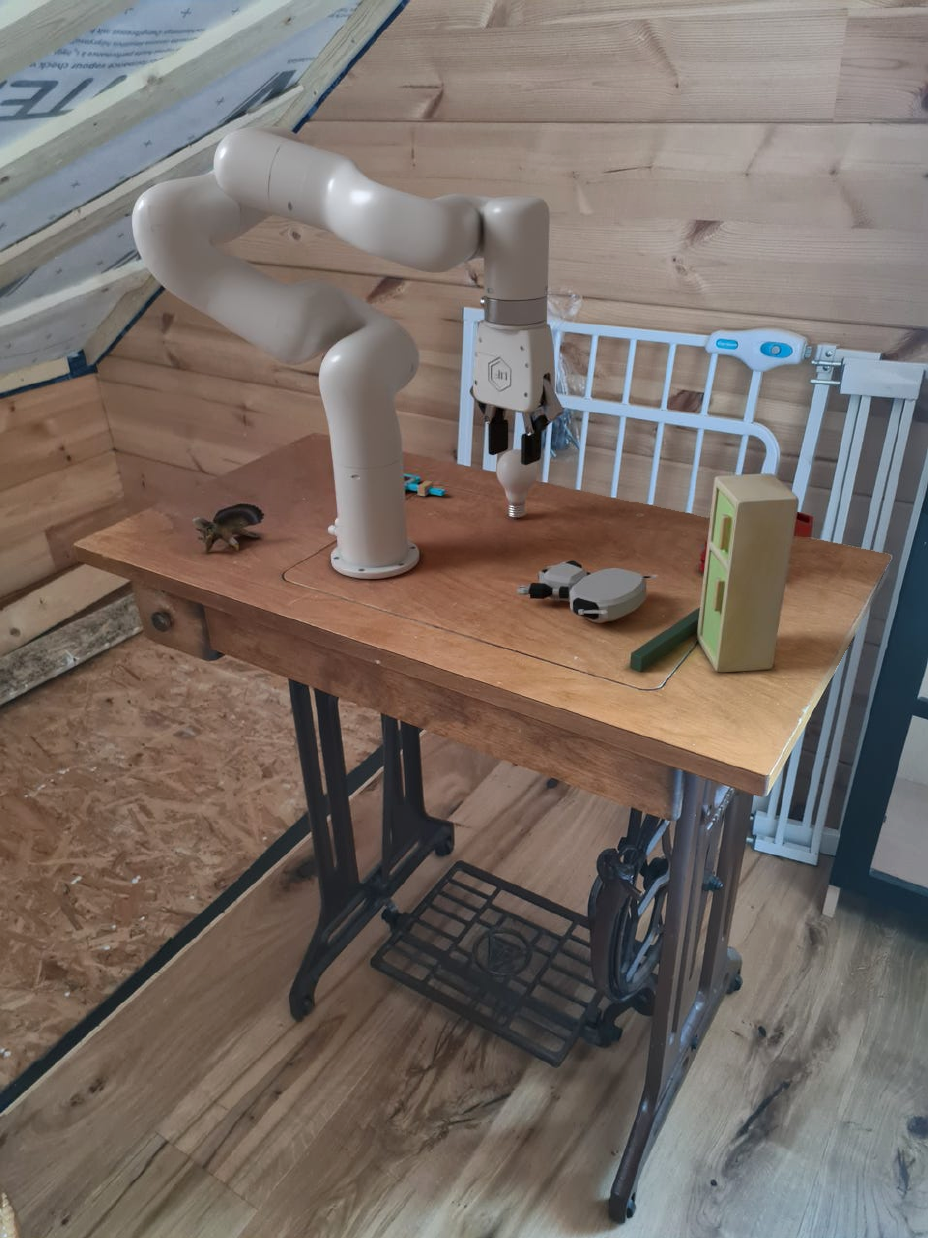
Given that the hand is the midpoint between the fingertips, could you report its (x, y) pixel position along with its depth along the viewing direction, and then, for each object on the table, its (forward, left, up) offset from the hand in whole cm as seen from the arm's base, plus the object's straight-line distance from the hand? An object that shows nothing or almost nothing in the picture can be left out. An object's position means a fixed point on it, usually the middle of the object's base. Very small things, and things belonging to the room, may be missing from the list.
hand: (514, 455), depth 118 cm
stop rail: (+26, 0, -17) cm, 31 cm away
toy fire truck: (+24, +22, -18) cm, 37 cm away
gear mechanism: (-37, +11, -18) cm, 42 cm away
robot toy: (+13, 0, -18) cm, 22 cm away
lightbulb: (-13, +16, -18) cm, 27 cm away
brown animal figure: (-38, -20, -18) cm, 47 cm away
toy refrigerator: (+32, +2, -18) cm, 37 cm away
